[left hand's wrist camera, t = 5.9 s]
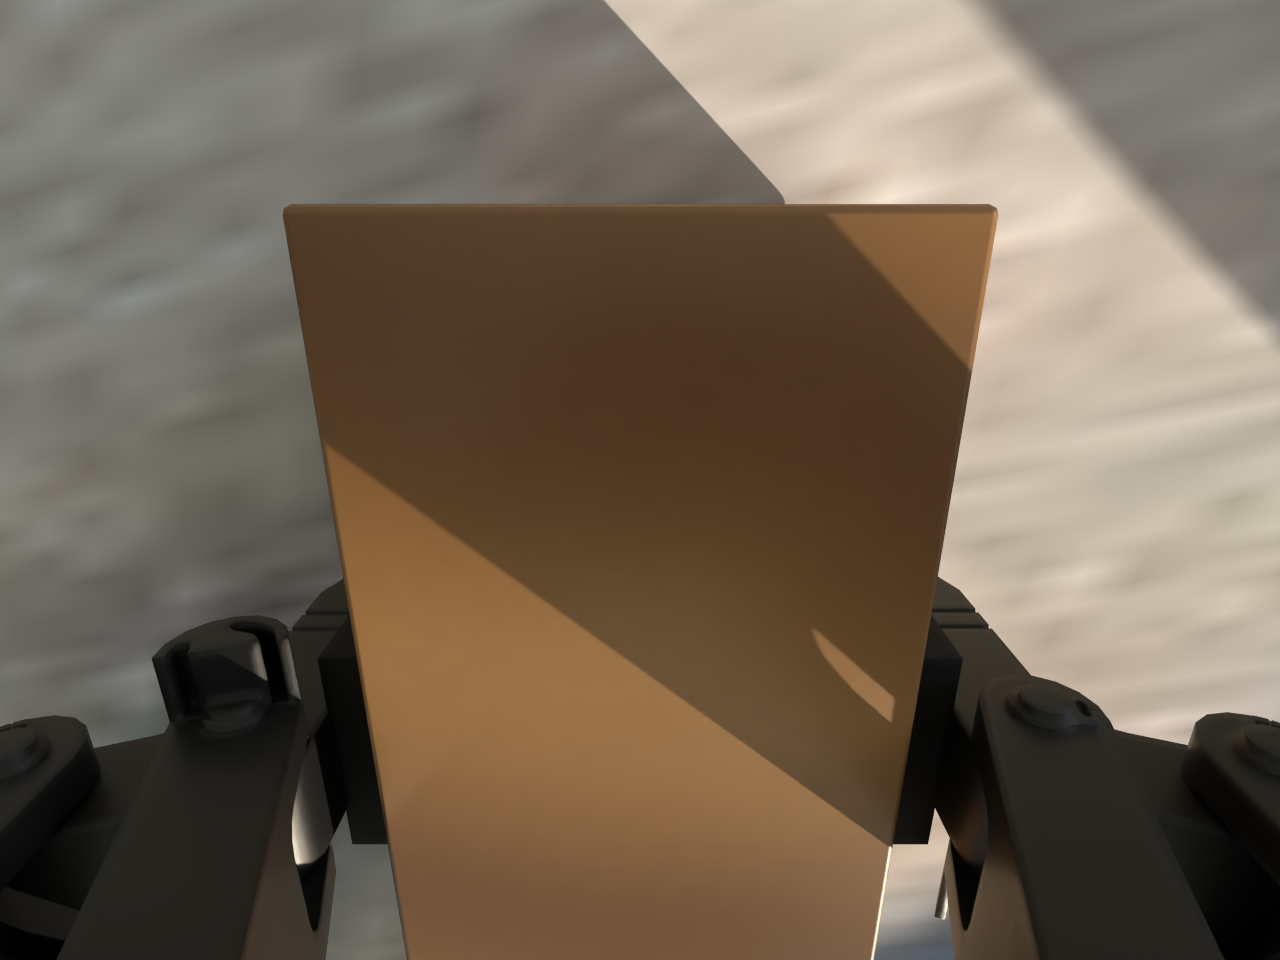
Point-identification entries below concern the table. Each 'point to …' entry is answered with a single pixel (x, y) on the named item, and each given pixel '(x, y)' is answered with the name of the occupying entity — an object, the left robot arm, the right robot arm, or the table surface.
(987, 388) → the table surface
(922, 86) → the table surface
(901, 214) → the bar
